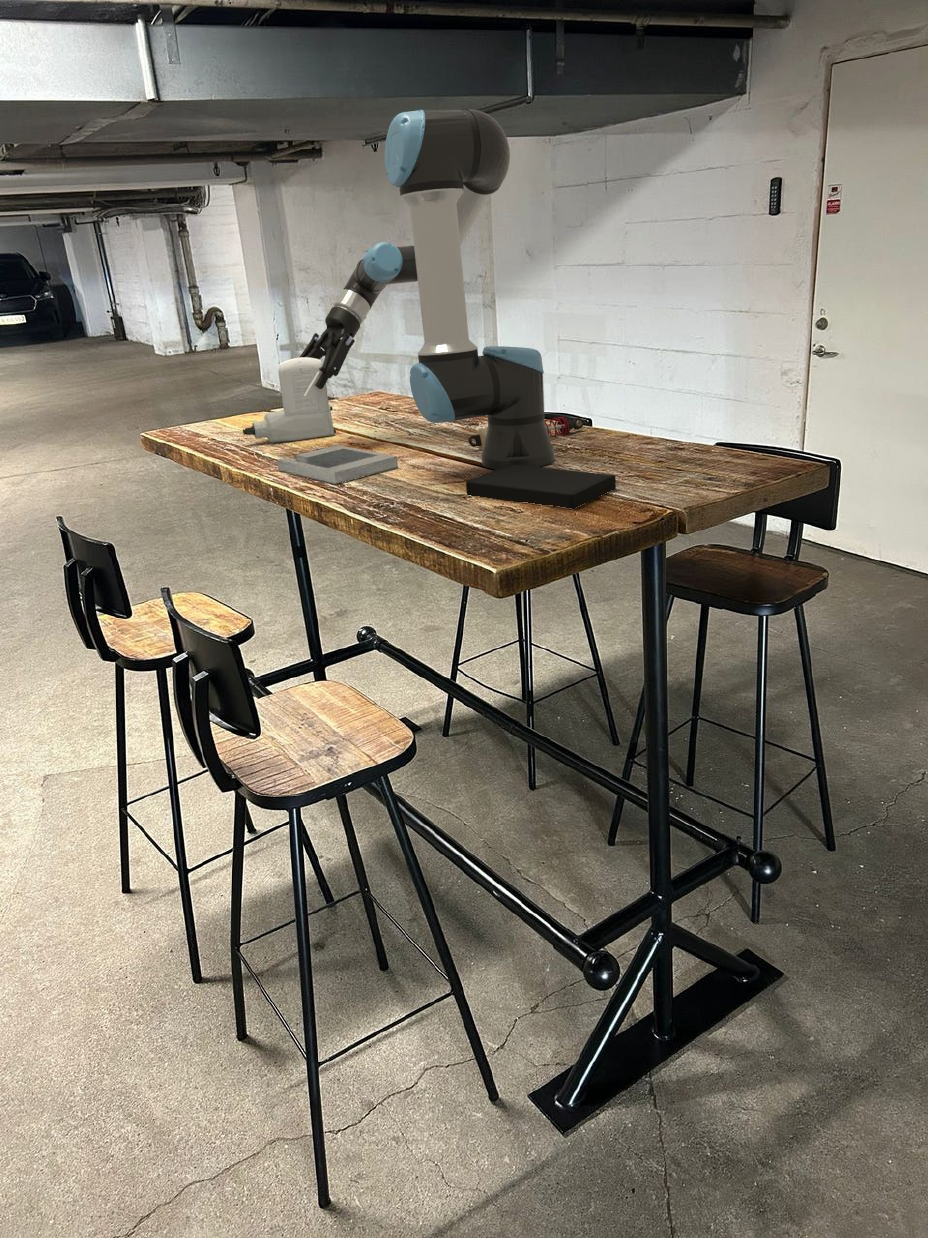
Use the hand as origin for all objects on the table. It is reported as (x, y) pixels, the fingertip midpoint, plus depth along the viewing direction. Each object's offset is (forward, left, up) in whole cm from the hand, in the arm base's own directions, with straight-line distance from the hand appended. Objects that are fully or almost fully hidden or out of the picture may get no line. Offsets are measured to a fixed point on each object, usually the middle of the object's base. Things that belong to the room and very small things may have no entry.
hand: (298, 398), depth 200 cm
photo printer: (0, -2, -4) cm, 4 cm away
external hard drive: (-67, -7, -14) cm, 69 cm away
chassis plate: (-17, +3, -13) cm, 22 cm away
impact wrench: (+30, -12, -14) cm, 35 cm away
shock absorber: (-34, -38, -14) cm, 53 cm away
